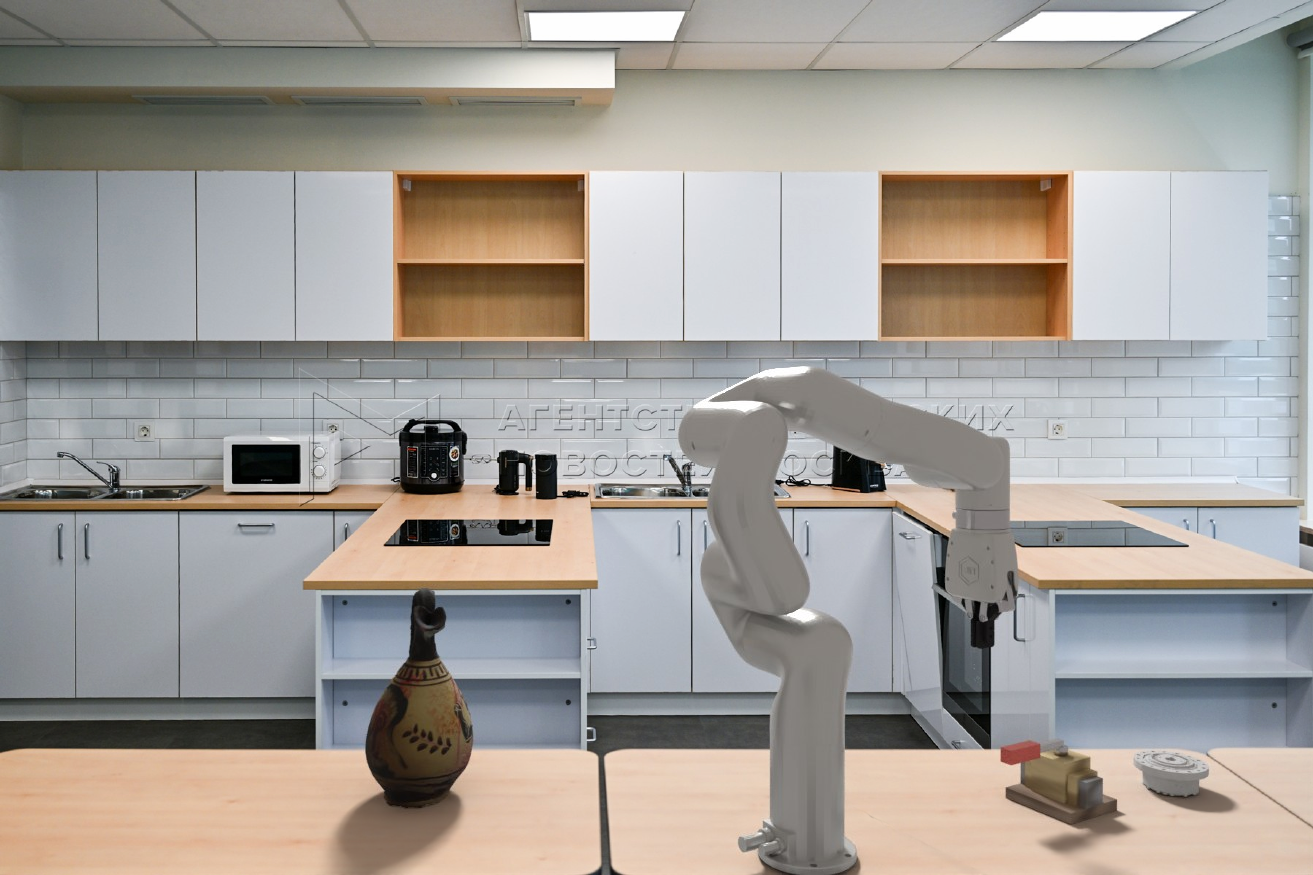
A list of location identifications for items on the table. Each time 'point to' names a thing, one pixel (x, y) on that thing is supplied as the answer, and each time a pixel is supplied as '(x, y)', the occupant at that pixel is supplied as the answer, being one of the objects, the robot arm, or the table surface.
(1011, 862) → the table surface
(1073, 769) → the valve block
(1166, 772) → the mechanical component
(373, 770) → the ceramic jug
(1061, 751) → the valve lever
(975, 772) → the table surface
